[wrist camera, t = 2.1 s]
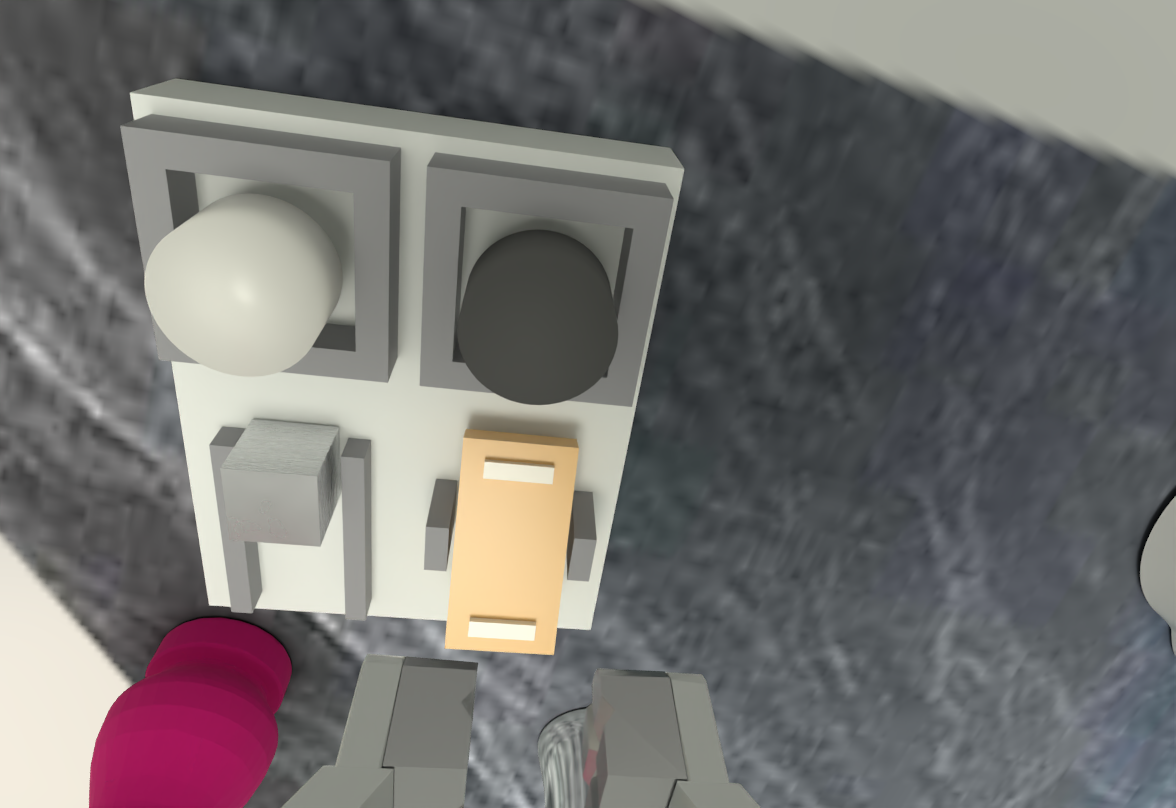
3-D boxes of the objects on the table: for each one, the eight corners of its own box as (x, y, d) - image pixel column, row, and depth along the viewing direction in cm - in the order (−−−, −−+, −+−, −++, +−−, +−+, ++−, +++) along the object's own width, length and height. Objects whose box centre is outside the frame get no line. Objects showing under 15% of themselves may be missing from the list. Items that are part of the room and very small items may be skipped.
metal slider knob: (339, 426, 27) (316, 476, 24) (341, 493, 28) (320, 546, 26) (252, 418, 26) (220, 468, 24) (258, 486, 28) (229, 540, 25)
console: (670, 148, 25) (700, 193, 20) (587, 581, 35) (593, 682, 30) (175, 78, 23) (75, 109, 19) (235, 555, 33) (180, 659, 28)
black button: (622, 239, 22) (630, 270, 20) (599, 371, 24) (605, 412, 22) (470, 220, 21) (462, 249, 19) (461, 357, 23) (453, 396, 21)
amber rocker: (576, 439, 27) (579, 450, 26) (552, 637, 29) (554, 659, 27) (465, 428, 27) (462, 439, 25) (447, 631, 28) (443, 653, 27)
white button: (341, 203, 21) (317, 231, 19) (344, 345, 23) (323, 384, 21) (175, 183, 20) (131, 209, 18) (195, 329, 22) (157, 368, 20)
